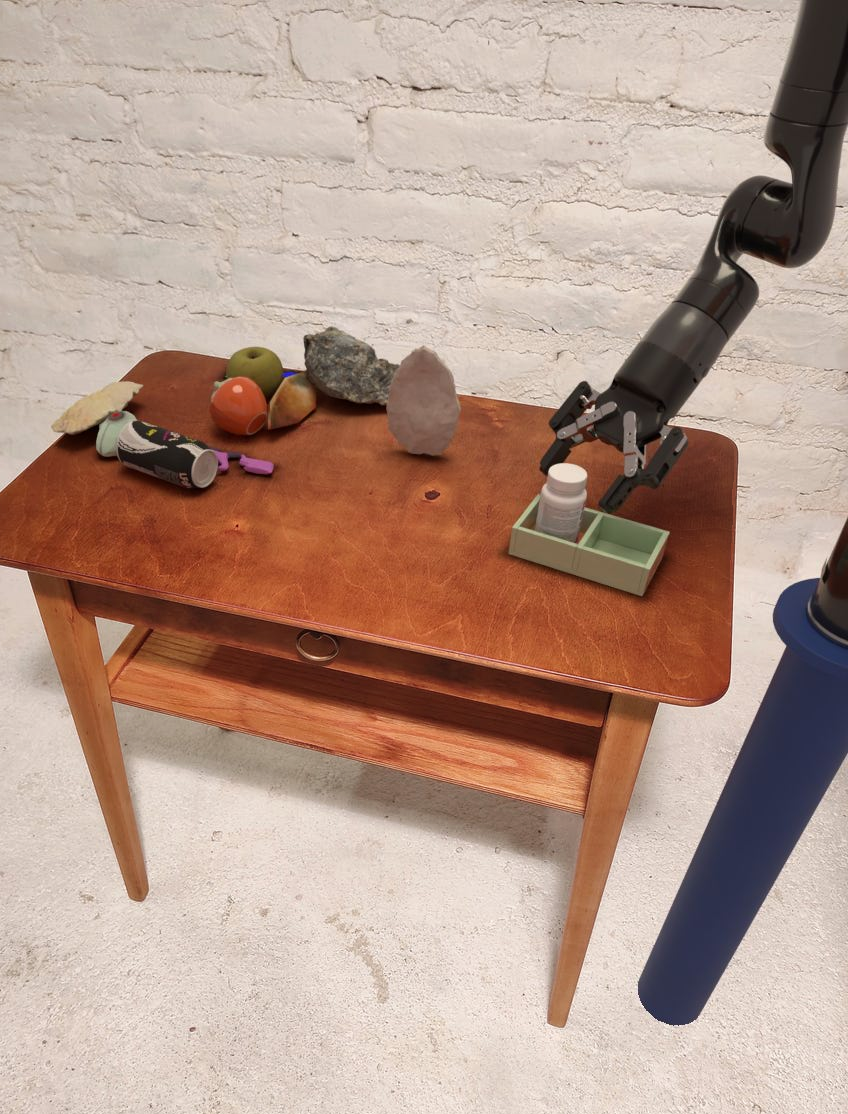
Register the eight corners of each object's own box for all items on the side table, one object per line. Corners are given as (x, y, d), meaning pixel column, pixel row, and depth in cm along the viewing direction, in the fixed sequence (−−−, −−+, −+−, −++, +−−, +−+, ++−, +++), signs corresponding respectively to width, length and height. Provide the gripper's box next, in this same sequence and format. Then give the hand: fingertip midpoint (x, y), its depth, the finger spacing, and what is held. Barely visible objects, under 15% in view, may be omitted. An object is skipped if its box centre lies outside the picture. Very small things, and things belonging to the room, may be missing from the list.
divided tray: (662, 558, 95) (670, 531, 92) (642, 596, 90) (650, 569, 87) (533, 519, 100) (538, 493, 98) (508, 554, 95) (512, 527, 93)
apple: (220, 411, 118) (214, 361, 114) (243, 386, 124) (238, 337, 120) (272, 419, 117) (269, 368, 112) (293, 394, 123) (291, 344, 118)
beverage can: (147, 417, 108) (224, 443, 103) (142, 463, 110) (218, 490, 106) (113, 419, 103) (193, 446, 99) (109, 466, 105) (187, 495, 101)
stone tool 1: (91, 450, 109) (160, 398, 119) (79, 419, 106) (150, 369, 116) (42, 447, 112) (112, 397, 122) (29, 417, 110) (102, 369, 120)
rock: (409, 337, 114) (357, 378, 110) (415, 398, 122) (367, 439, 118) (331, 303, 120) (280, 341, 117) (342, 363, 128) (294, 401, 125)
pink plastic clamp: (281, 462, 107) (258, 477, 104) (281, 469, 108) (259, 484, 104) (145, 425, 114) (120, 438, 111) (146, 431, 115) (121, 445, 111)
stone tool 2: (457, 454, 111) (468, 338, 101) (455, 467, 109) (466, 350, 99) (386, 447, 112) (389, 332, 102) (382, 459, 110) (385, 343, 100)
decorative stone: (256, 393, 109) (239, 401, 111) (276, 436, 111) (259, 442, 113) (313, 363, 120) (296, 370, 121) (330, 403, 121) (314, 409, 123)
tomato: (283, 412, 115) (243, 372, 117) (269, 392, 108) (225, 350, 109) (244, 452, 116) (204, 412, 117) (227, 435, 108) (184, 393, 110)
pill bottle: (584, 549, 95) (599, 481, 89) (543, 555, 94) (555, 487, 88) (566, 525, 98) (579, 458, 93) (526, 530, 97) (537, 463, 92)
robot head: (130, 470, 108) (162, 434, 111) (115, 445, 104) (148, 408, 107) (85, 459, 111) (117, 425, 114) (69, 434, 108) (102, 399, 111)
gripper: (605, 319, 91) (511, 448, 94) (718, 367, 83) (611, 508, 85) (628, 356, 97) (539, 477, 100) (737, 404, 89) (636, 535, 91)
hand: (573, 491), depth 92 cm, fingers open, 8 cm apart
